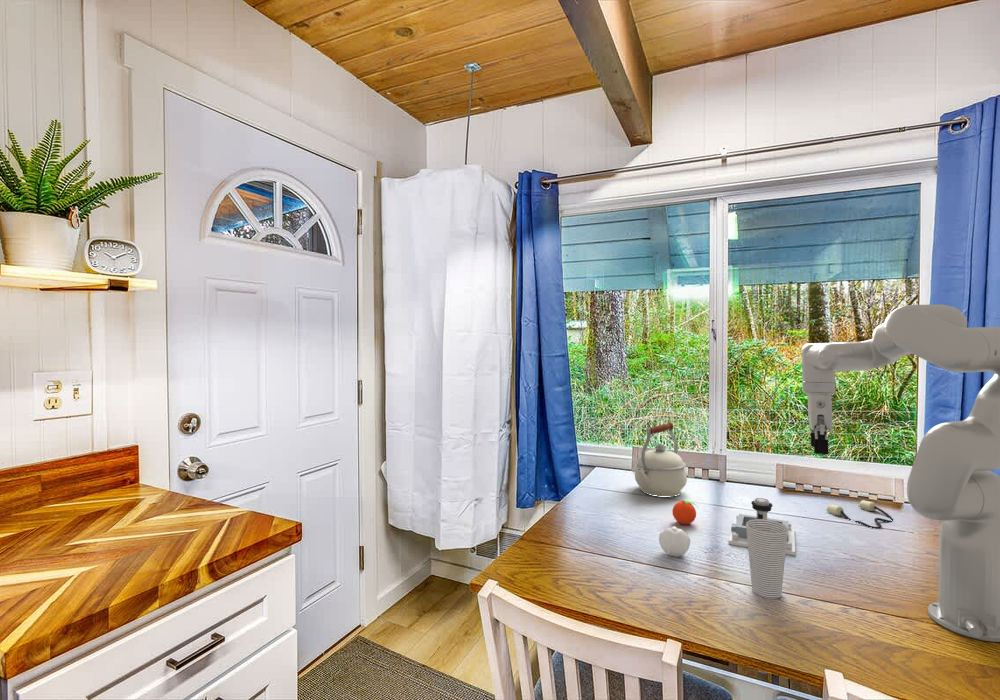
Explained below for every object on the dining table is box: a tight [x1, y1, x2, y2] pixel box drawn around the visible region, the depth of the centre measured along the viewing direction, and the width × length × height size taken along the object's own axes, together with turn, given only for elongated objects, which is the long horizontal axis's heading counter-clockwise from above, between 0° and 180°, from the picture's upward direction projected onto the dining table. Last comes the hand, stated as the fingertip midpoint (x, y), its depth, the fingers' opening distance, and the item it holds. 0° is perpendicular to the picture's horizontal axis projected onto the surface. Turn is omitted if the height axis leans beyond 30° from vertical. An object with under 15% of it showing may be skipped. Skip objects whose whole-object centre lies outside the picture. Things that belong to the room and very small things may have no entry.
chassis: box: [728, 513, 796, 556], centre depth 144 cm, size 18×16×4 cm
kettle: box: [634, 422, 688, 496], centre depth 185 cm, size 25×18×25 cm
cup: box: [746, 519, 788, 600], centre depth 115 cm, size 8×8×16 cm
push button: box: [751, 497, 773, 519], centre depth 143 cm, size 7×5×10 cm
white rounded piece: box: [658, 525, 691, 558], centre depth 134 cm, size 8×8×8 cm
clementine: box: [672, 500, 699, 525], centre depth 156 cm, size 8×7×7 cm
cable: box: [825, 499, 894, 529], centre depth 158 cm, size 16×16×4 cm
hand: (819, 450), depth 138 cm, fingers open, 9 cm apart
